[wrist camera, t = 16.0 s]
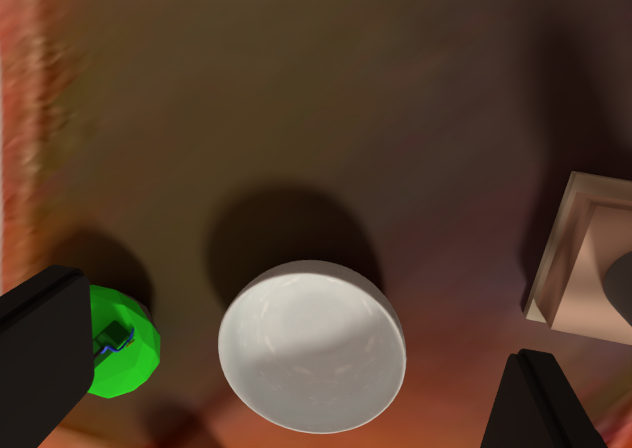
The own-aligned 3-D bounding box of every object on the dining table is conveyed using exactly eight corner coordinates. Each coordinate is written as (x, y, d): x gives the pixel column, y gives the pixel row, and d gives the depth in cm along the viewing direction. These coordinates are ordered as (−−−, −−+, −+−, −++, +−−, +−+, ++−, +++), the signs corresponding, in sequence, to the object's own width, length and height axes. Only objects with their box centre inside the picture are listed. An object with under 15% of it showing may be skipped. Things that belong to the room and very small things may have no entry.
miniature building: (119, 248, 49) (46, 295, 38) (198, 327, 50) (149, 393, 40) (54, 312, 52) (-27, 371, 42) (130, 384, 54) (69, 458, 44)
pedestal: (571, 170, 40) (596, 185, 35) (720, 196, 39) (766, 214, 34) (522, 313, 44) (539, 342, 40) (654, 339, 44) (686, 372, 39)
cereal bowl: (393, 233, 44) (395, 263, 37) (411, 382, 49) (416, 432, 42) (223, 251, 47) (196, 282, 40) (256, 389, 52) (237, 437, 45)
